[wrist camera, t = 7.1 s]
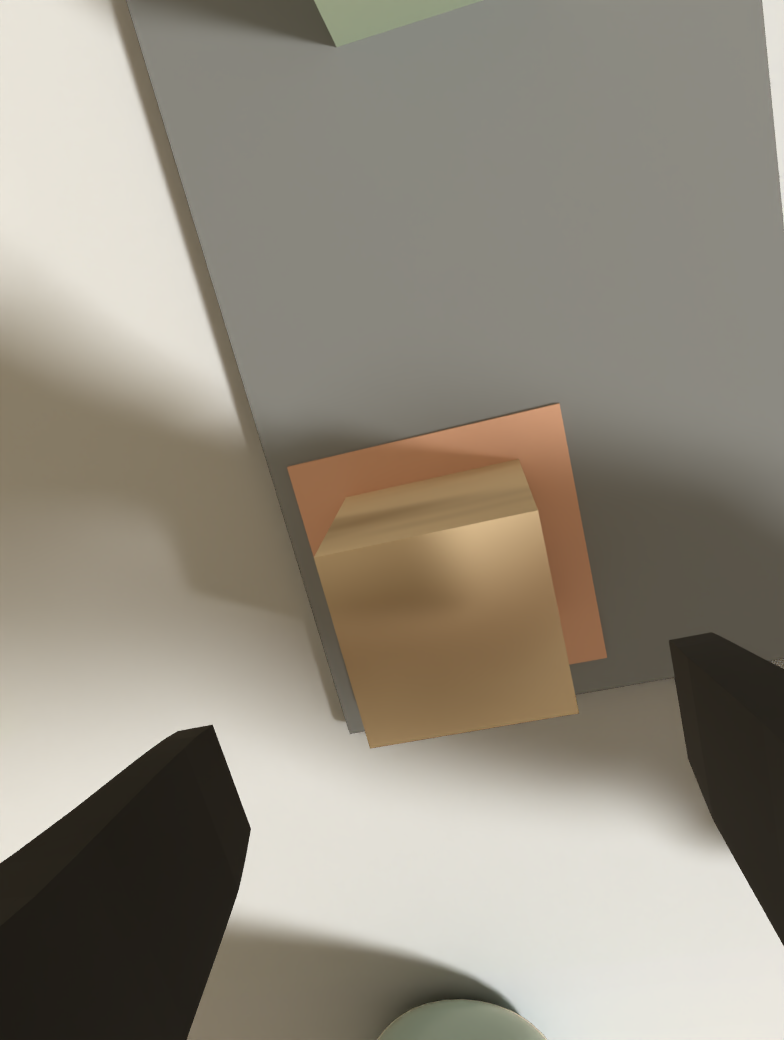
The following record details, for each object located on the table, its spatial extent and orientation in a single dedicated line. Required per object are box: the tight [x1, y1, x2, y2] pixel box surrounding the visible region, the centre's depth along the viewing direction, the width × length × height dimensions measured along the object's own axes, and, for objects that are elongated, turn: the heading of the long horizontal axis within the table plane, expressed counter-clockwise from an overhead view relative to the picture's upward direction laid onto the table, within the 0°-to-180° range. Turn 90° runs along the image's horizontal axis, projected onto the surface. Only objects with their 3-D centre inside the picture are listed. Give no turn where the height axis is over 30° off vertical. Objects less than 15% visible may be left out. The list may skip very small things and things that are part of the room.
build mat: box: [126, 0, 784, 734], centre depth 17 cm, size 22×13×1 cm, turn 14°
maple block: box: [314, 459, 579, 748], centre depth 17 cm, size 4×4×4 cm
